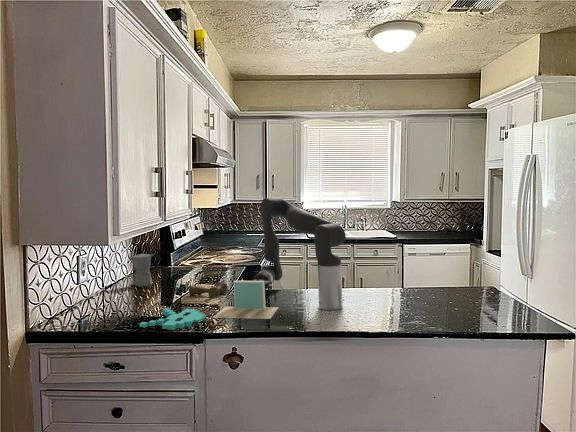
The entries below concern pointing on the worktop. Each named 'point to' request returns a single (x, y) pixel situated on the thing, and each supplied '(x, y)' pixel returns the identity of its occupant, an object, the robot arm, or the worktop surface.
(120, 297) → the worktop surface
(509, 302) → the worktop surface
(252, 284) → the tile
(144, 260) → the coffeepot
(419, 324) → the worktop surface
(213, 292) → the kendama
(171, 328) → the alien figure
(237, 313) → the tan flat rectangular board
